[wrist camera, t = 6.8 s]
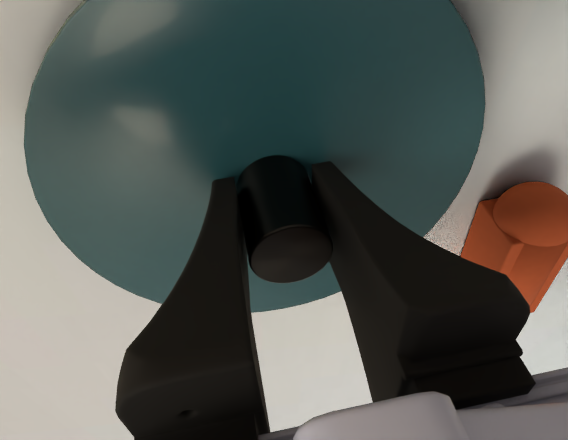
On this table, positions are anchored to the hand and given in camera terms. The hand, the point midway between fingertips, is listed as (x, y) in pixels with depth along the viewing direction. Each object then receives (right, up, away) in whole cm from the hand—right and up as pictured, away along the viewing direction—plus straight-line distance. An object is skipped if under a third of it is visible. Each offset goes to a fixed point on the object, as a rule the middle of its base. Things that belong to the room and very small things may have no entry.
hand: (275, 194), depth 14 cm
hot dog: (+10, -2, +7) cm, 12 cm away
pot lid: (0, +1, +1) cm, 1 cm away
